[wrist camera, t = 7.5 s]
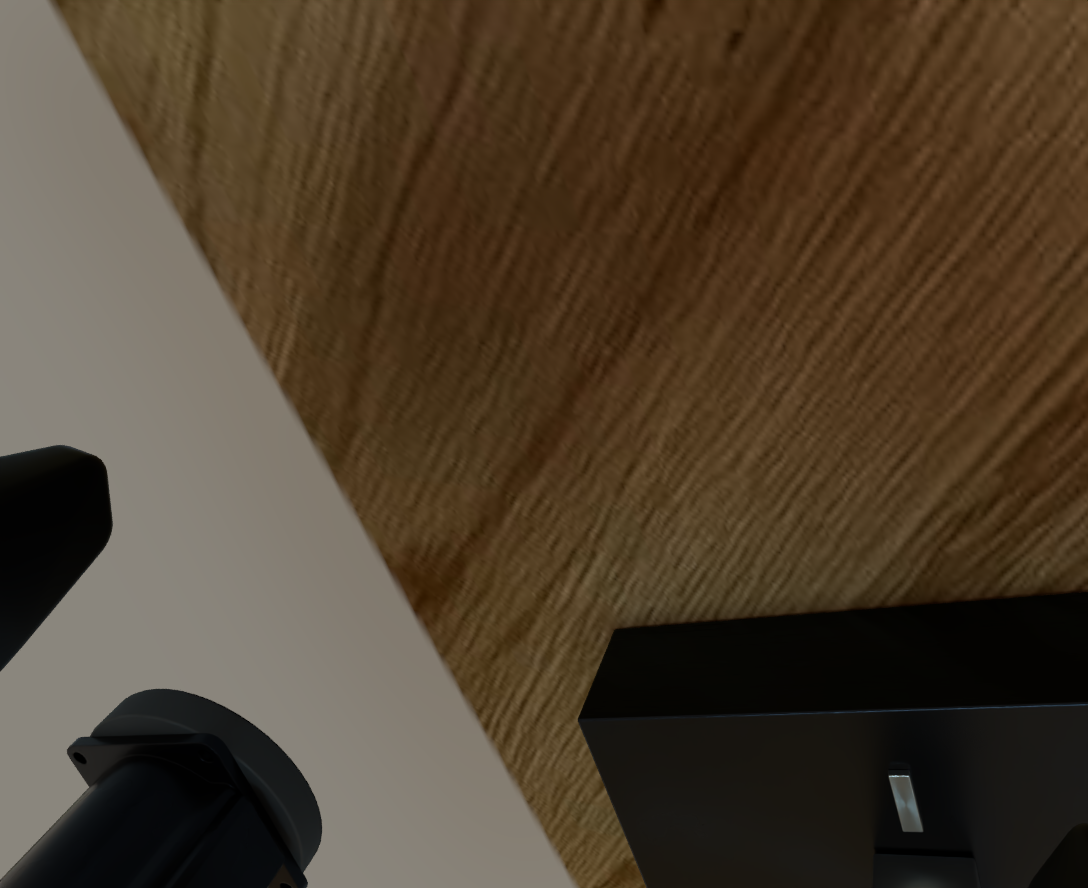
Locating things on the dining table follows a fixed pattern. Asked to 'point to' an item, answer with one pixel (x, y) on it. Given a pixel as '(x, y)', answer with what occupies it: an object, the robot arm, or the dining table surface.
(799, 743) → the console
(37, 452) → the robot arm
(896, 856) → the dial
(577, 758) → the dining table surface
